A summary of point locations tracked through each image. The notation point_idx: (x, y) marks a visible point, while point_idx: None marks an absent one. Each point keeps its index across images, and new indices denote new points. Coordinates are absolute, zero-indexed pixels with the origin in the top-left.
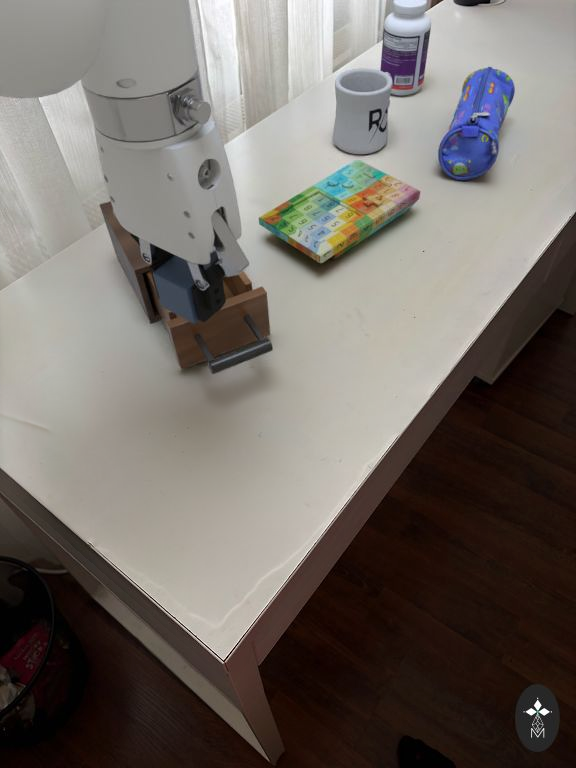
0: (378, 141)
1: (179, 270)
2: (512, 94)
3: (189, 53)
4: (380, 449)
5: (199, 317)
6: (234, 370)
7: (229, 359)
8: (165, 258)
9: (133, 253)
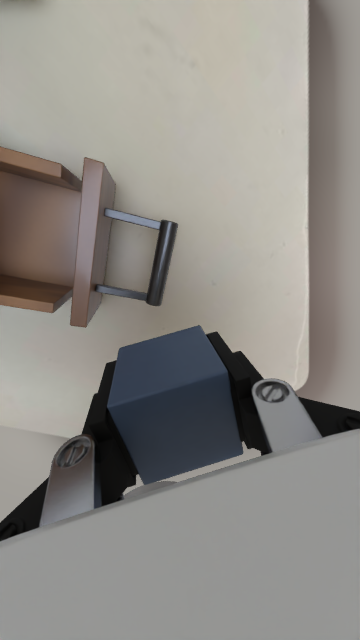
0: None
1: (178, 443)
2: None
3: None
4: (305, 204)
5: None
6: (131, 253)
7: (162, 282)
8: (121, 457)
9: None
